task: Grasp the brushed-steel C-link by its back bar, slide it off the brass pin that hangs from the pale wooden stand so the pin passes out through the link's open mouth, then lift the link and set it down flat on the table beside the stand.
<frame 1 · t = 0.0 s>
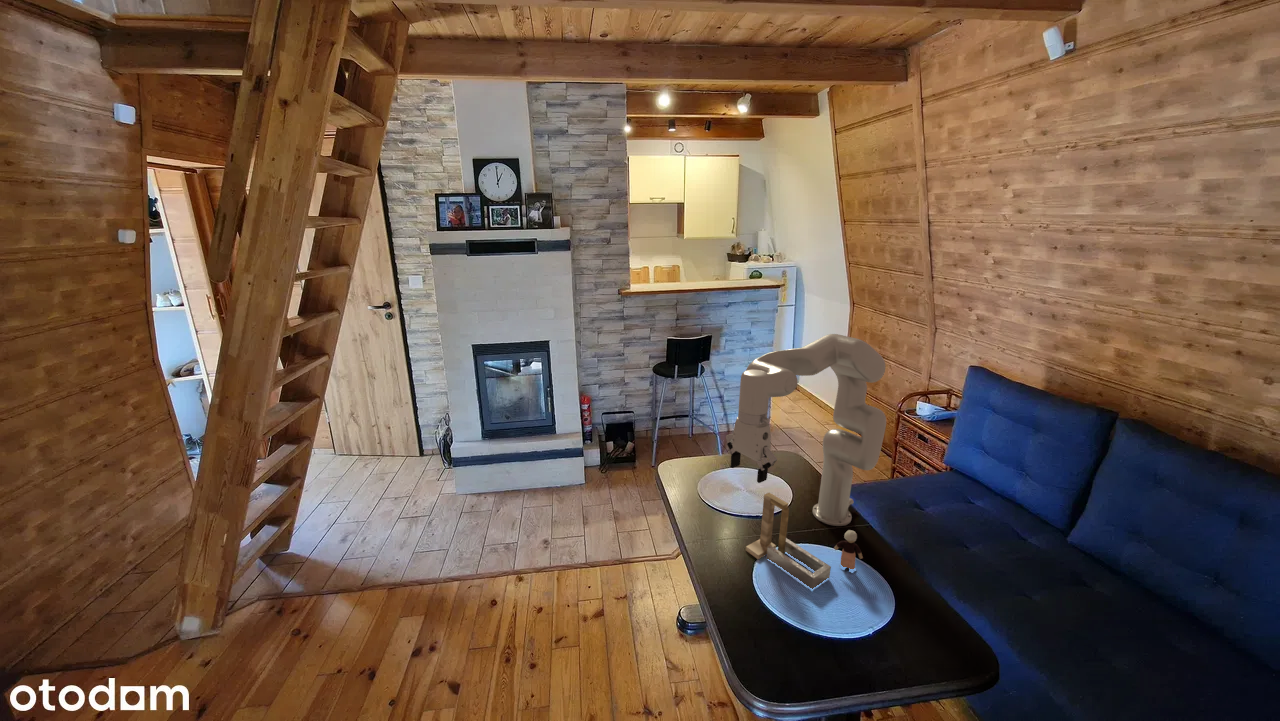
hand: (748, 473, 136), 31 cm above the table, fingers open, 9 cm apart
pin stand: (765, 547, 154), on the table
grandmother figurine: (845, 568, 145), on the table
steel C-link: (796, 569, 145), on the table
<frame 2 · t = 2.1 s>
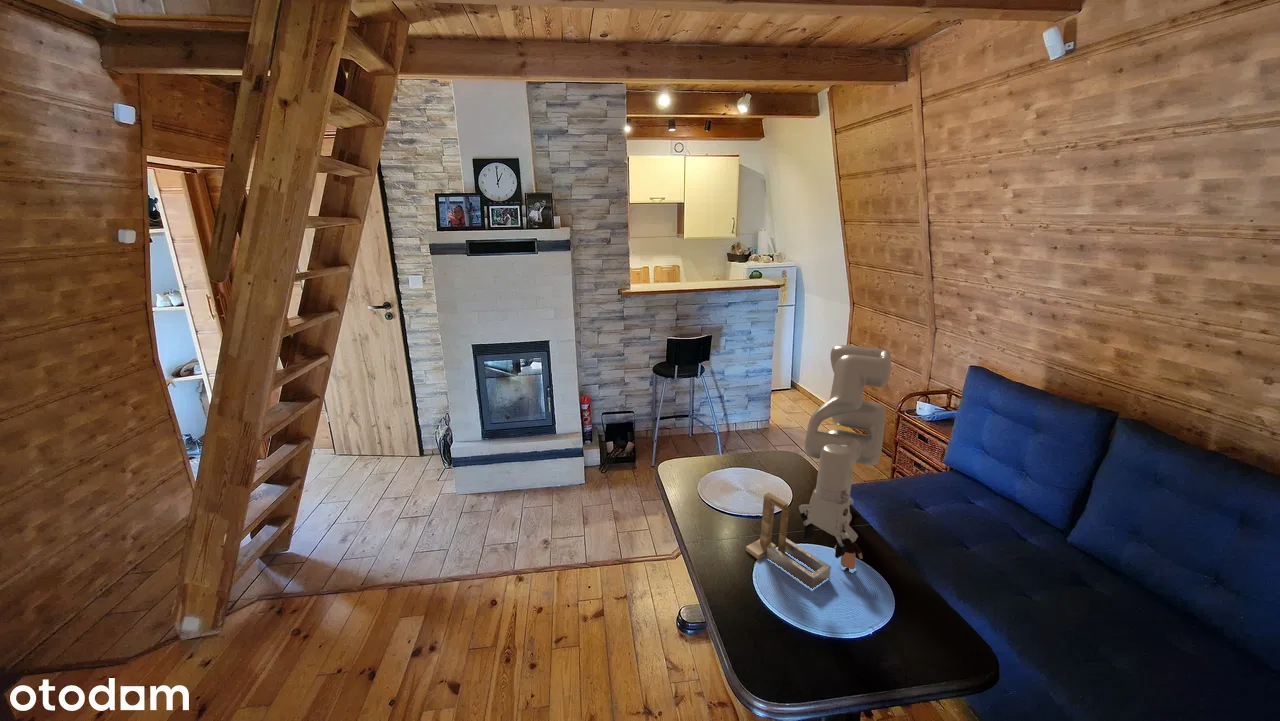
hand: (823, 546, 135), 13 cm above the table, fingers open, 9 cm apart
nothing on the table moved.
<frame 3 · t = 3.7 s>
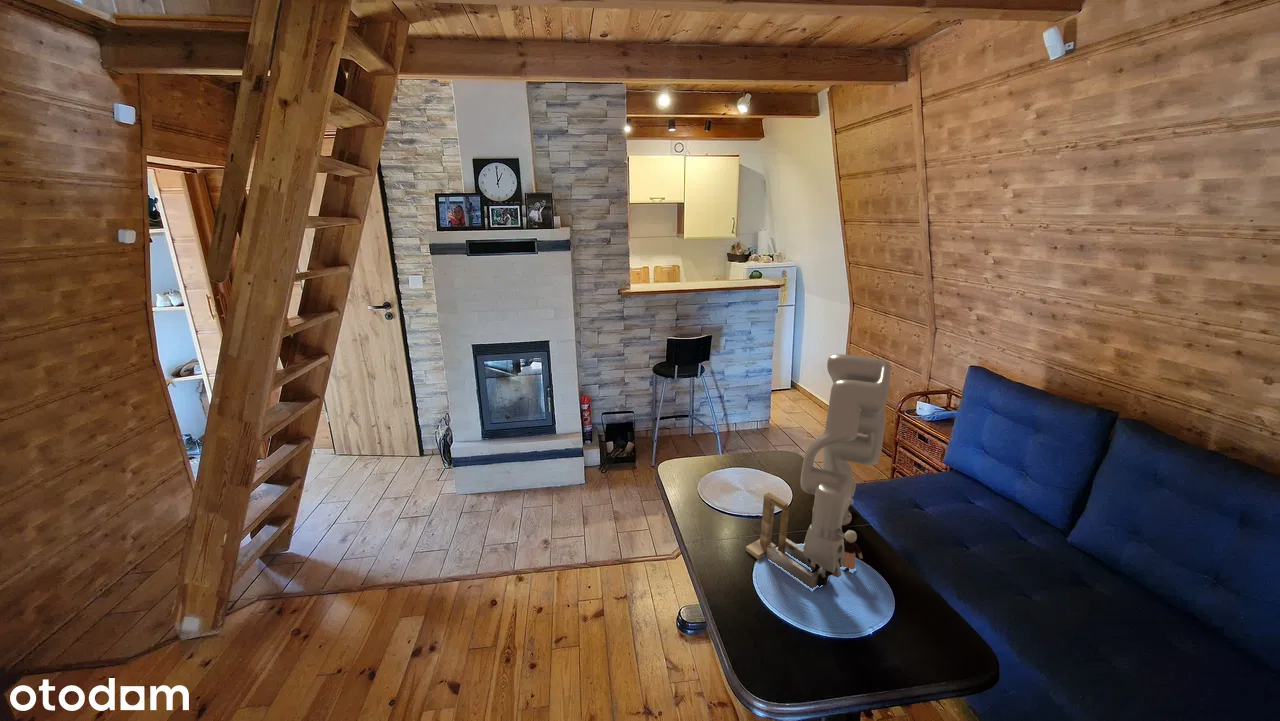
hand: (818, 583, 139), 0 cm above the table, fingers closed on steel C-link
steel C-link: (796, 569, 145), on the table, touching gripper
everything else where it was.
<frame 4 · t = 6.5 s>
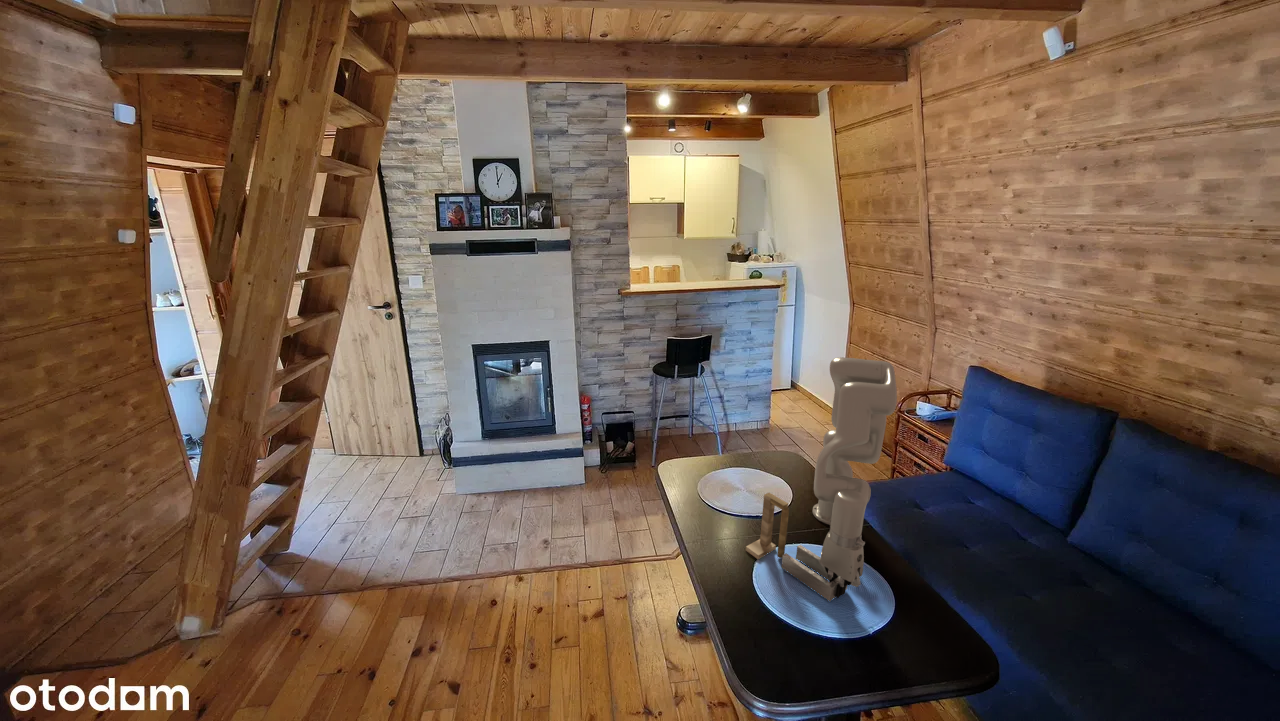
hand: (836, 592, 134), 1 cm above the table, fingers closed on steel C-link
steel C-link: (813, 578, 140), point 1 cm above the table, touching gripper
everything else where it was.
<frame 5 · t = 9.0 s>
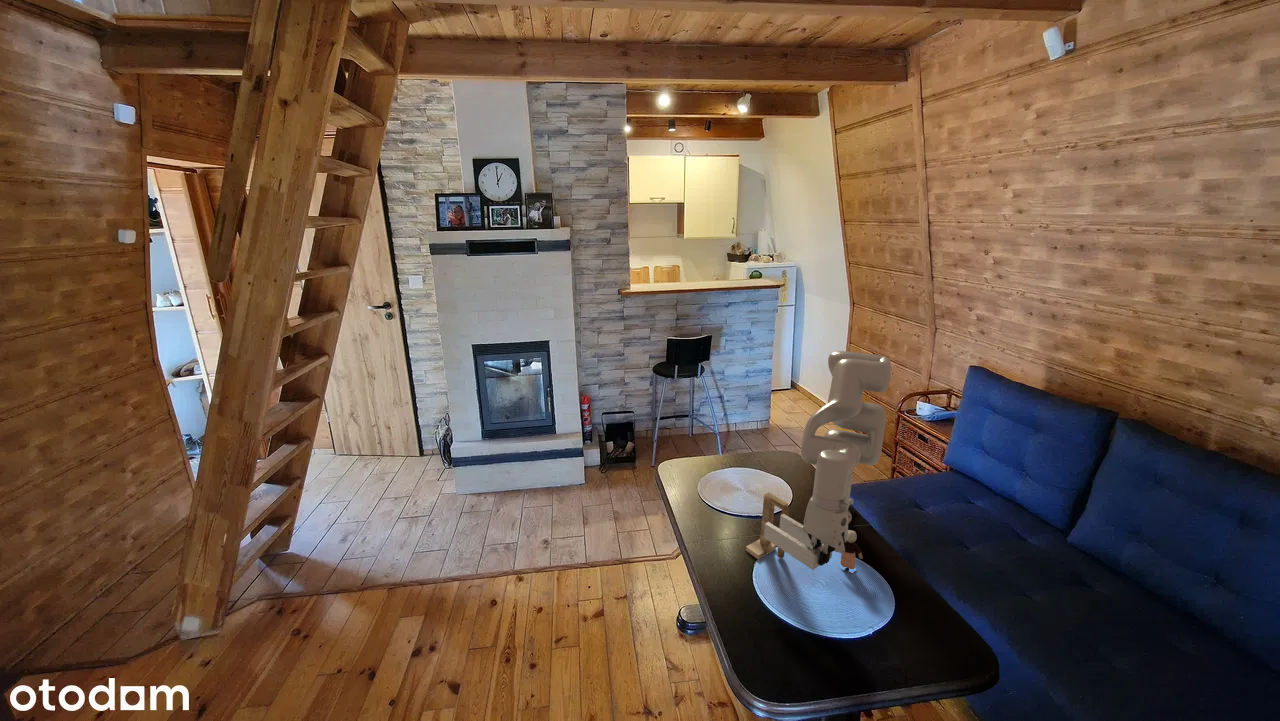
hand: (820, 560, 128), 14 cm above the table, fingers closed on steel C-link
steel C-link: (796, 547, 134), point 13 cm above the table, touching gripper
everything else where it was.
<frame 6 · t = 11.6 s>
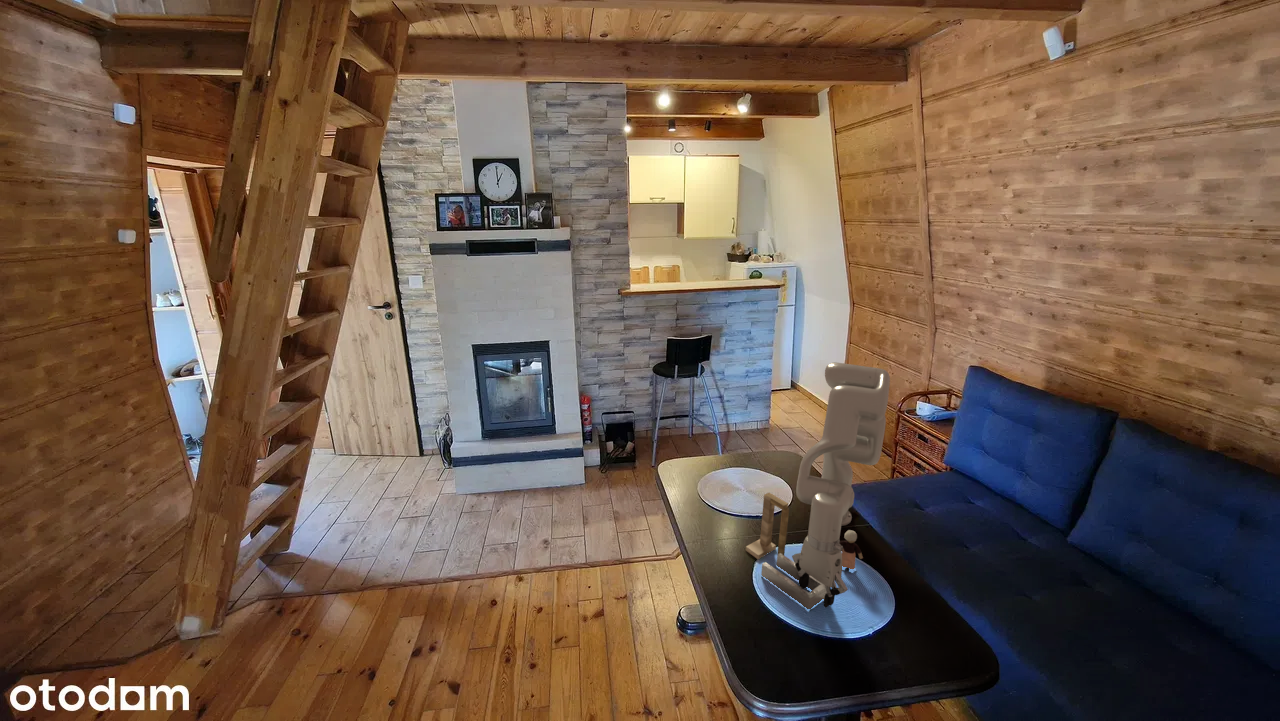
hand: (815, 595, 131), 2 cm above the table, fingers open, 7 cm apart
steel C-link: (792, 587, 138), on the table
everything else where it was.
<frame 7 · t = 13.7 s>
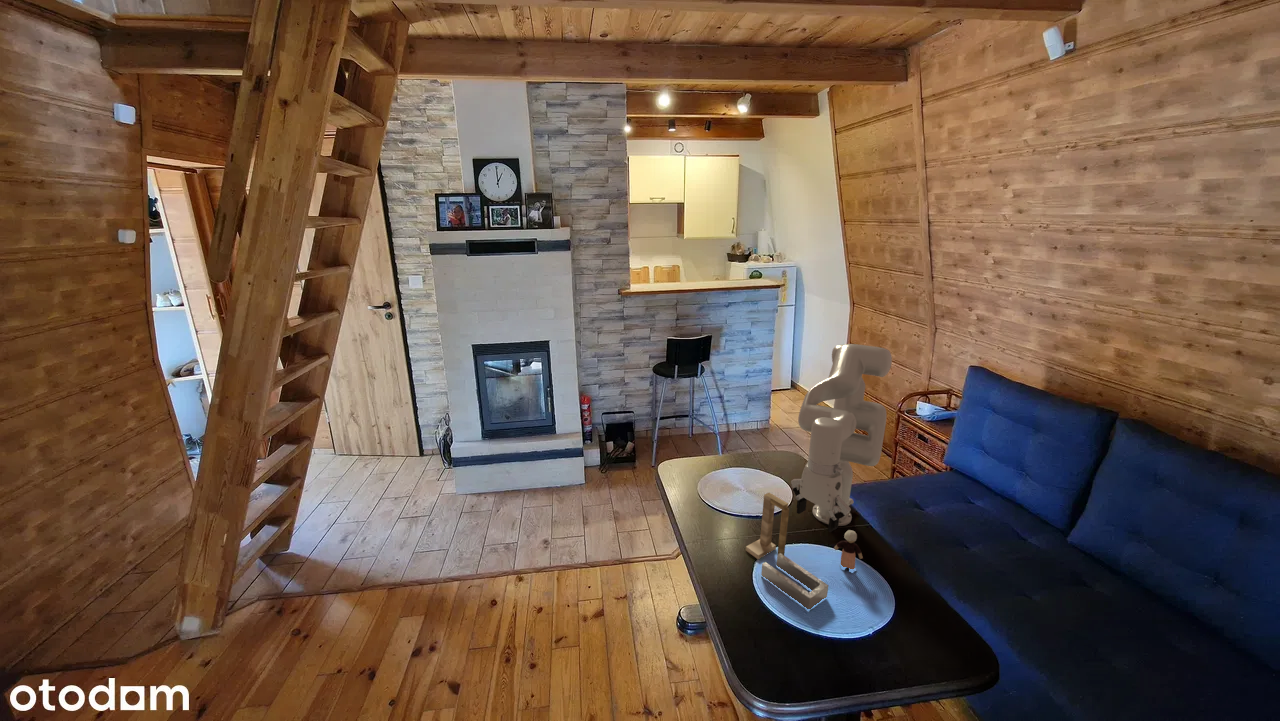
hand: (816, 520, 133), 21 cm above the table, fingers open, 9 cm apart
nothing on the table moved.
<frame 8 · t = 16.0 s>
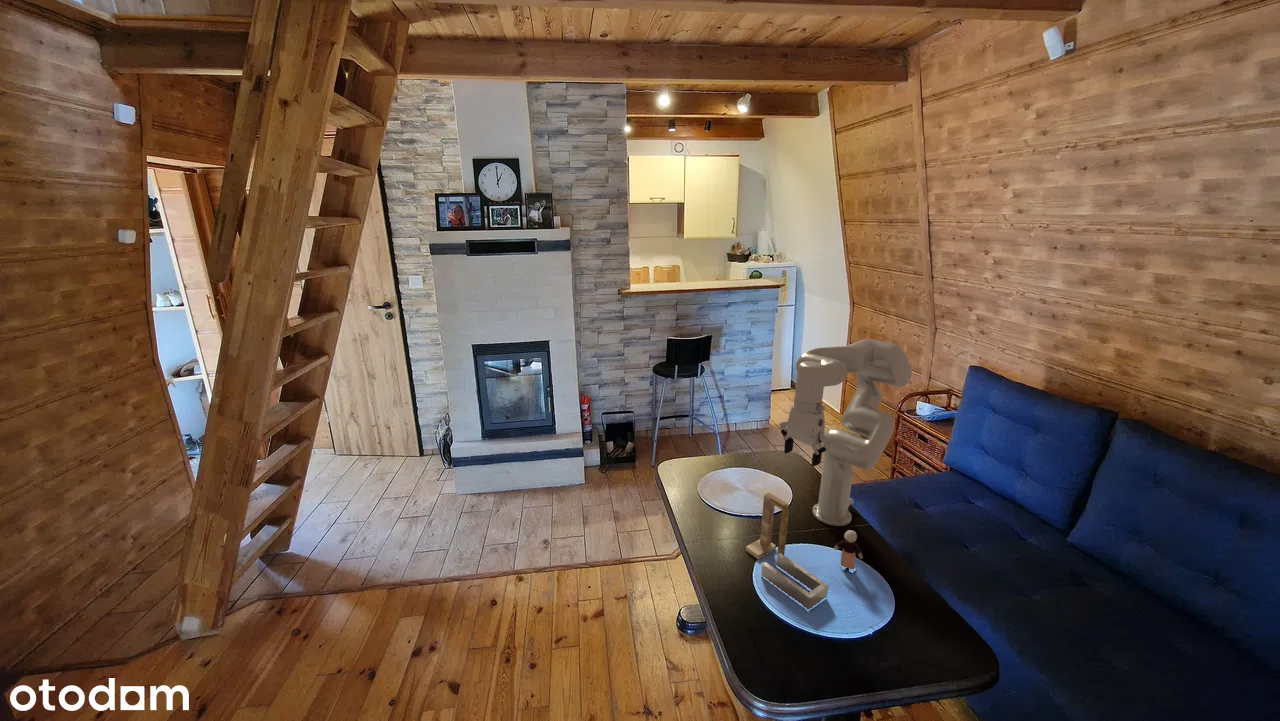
hand: (801, 458, 146), 30 cm above the table, fingers open, 9 cm apart
nothing on the table moved.
at the end: steel C-link inside the target area (0.2 cm from its centre), on the table; steel C-link touching table; the gripper is holding nothing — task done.
